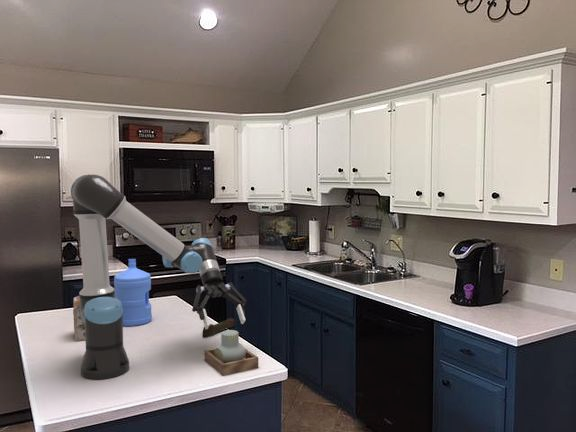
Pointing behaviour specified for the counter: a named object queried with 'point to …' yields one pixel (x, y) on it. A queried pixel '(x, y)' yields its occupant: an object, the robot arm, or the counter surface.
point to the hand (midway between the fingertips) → (225, 324)
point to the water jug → (134, 295)
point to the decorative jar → (78, 321)
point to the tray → (231, 363)
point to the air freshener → (230, 347)
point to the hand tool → (218, 327)
